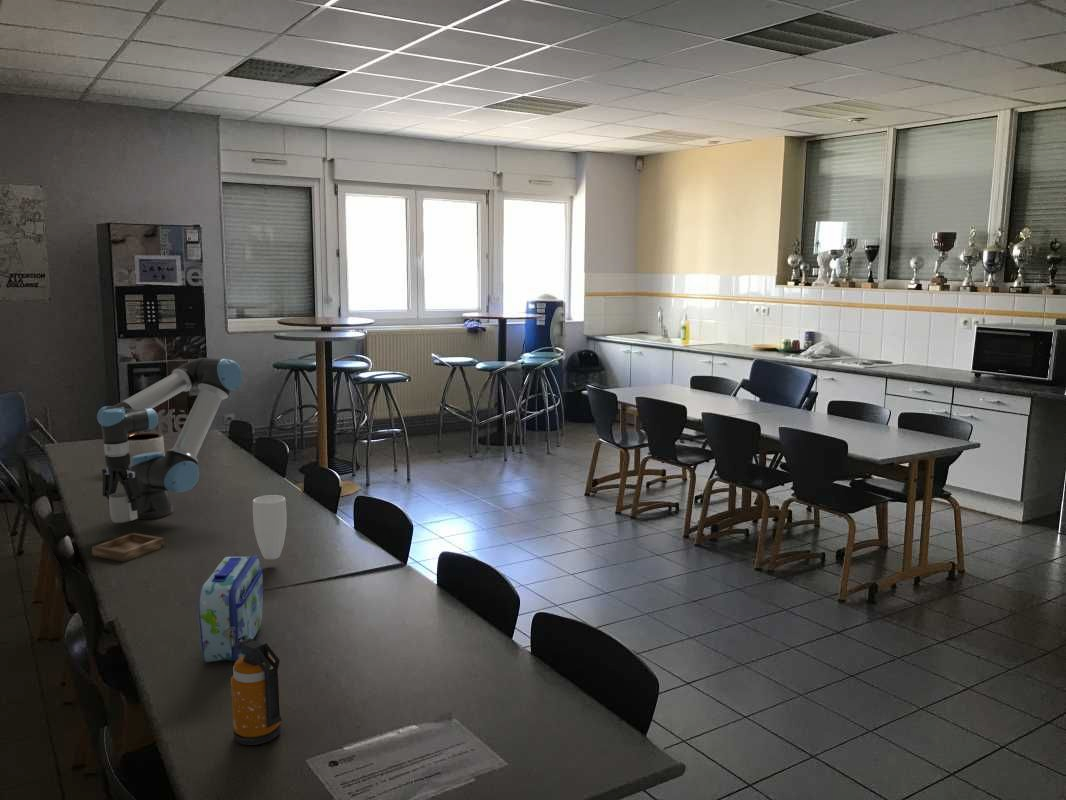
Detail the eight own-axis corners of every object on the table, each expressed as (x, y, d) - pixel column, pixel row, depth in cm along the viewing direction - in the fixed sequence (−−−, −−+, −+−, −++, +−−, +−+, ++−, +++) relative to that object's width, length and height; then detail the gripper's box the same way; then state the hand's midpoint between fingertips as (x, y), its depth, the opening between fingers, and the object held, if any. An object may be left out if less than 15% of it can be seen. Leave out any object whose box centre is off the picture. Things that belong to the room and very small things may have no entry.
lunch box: (244, 669, 198) (239, 584, 194) (196, 671, 197) (191, 585, 193) (269, 622, 223) (265, 546, 220) (227, 624, 222) (222, 547, 219)
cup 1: (112, 524, 288) (109, 499, 286) (111, 515, 296) (108, 491, 295) (135, 520, 291) (132, 495, 289) (134, 512, 300) (131, 488, 298)
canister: (262, 718, 176) (257, 628, 173) (297, 735, 170) (293, 641, 167) (224, 738, 169) (219, 644, 166) (260, 756, 163) (255, 659, 159)
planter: (155, 475, 377) (152, 440, 374) (115, 474, 377) (112, 440, 375) (172, 465, 394) (170, 432, 392) (134, 465, 395) (132, 432, 392)
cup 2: (296, 562, 268) (293, 496, 264) (276, 573, 258) (273, 505, 255) (268, 558, 271) (265, 493, 268) (247, 569, 262) (244, 501, 258)
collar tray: (133, 541, 288) (132, 532, 287) (164, 546, 282) (163, 537, 282) (92, 555, 273) (91, 546, 273) (124, 562, 268) (123, 552, 267)
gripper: (85, 454, 290) (92, 517, 294) (130, 459, 281) (137, 524, 286) (104, 449, 296) (111, 511, 301) (149, 454, 288) (155, 518, 292)
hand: (124, 517), depth 293 cm, fingers closed on cup 1, 8 cm apart
